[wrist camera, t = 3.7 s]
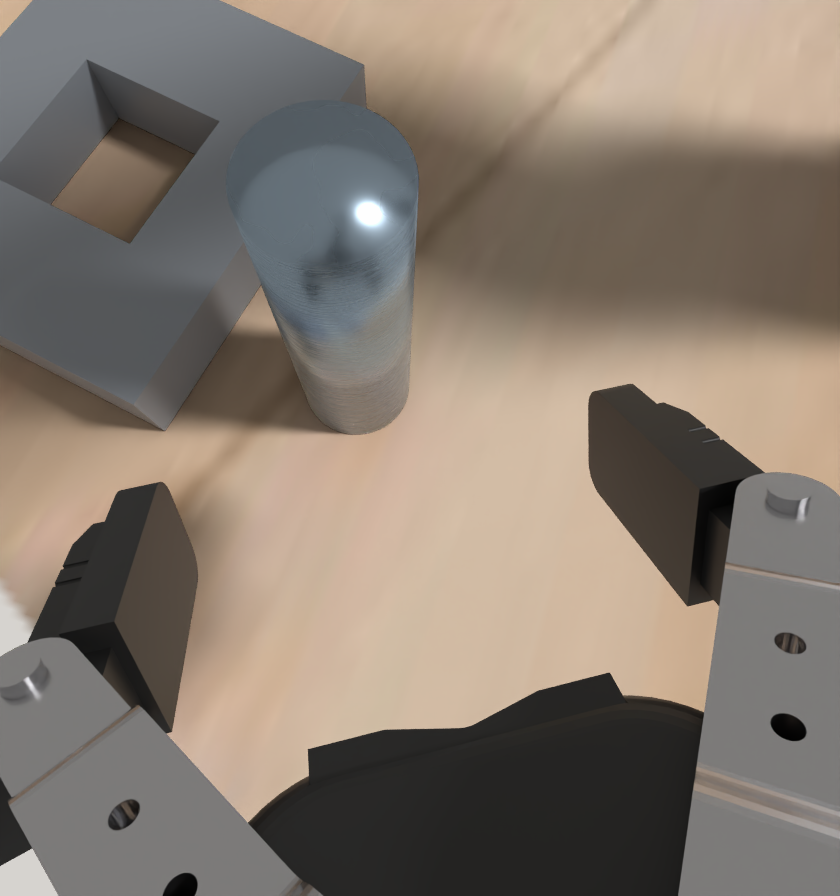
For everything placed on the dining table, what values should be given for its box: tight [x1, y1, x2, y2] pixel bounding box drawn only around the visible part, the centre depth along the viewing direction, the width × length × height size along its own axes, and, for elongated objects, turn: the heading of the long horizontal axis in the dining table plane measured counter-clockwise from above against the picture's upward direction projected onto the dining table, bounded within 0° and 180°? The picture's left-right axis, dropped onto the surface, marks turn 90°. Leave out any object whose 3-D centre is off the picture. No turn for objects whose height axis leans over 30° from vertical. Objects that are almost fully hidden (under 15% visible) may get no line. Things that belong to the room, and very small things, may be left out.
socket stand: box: [0, 0, 367, 431], centre depth 25 cm, size 16×13×3 cm
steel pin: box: [226, 100, 419, 435], centre depth 19 cm, size 4×4×12 cm
